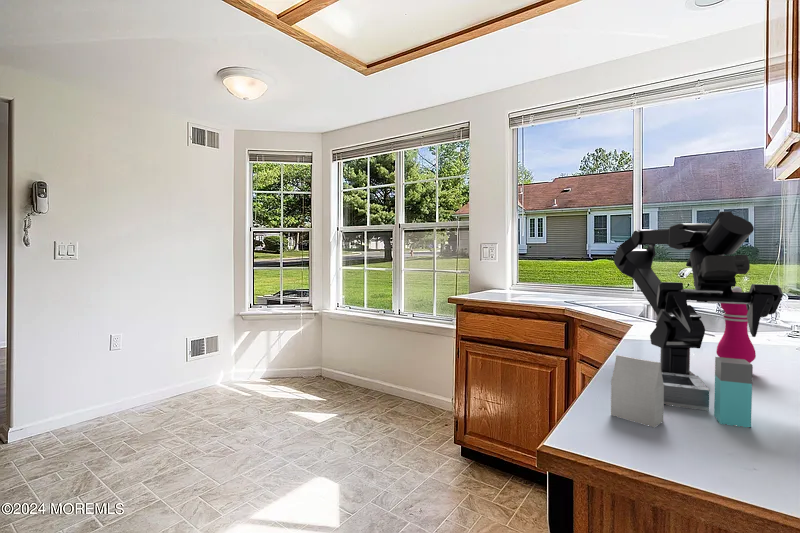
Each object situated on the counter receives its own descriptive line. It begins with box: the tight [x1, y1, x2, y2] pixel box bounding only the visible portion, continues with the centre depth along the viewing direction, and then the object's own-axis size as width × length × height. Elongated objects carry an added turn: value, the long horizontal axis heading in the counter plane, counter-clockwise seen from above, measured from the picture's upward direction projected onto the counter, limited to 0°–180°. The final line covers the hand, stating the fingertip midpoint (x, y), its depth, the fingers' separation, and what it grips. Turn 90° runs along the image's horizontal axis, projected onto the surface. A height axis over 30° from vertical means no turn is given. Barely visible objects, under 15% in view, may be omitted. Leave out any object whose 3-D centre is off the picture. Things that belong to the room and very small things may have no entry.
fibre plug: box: [713, 356, 753, 428], centre depth 69 cm, size 4×4×10 cm
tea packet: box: [610, 354, 665, 428], centre depth 71 cm, size 4×7×10 cm, turn 40°
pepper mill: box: [716, 285, 757, 374], centre depth 99 cm, size 7×7×20 cm
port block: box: [662, 372, 710, 412], centre depth 81 cm, size 10×10×4 cm
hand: (722, 333), depth 76 cm, fingers open, 9 cm apart
